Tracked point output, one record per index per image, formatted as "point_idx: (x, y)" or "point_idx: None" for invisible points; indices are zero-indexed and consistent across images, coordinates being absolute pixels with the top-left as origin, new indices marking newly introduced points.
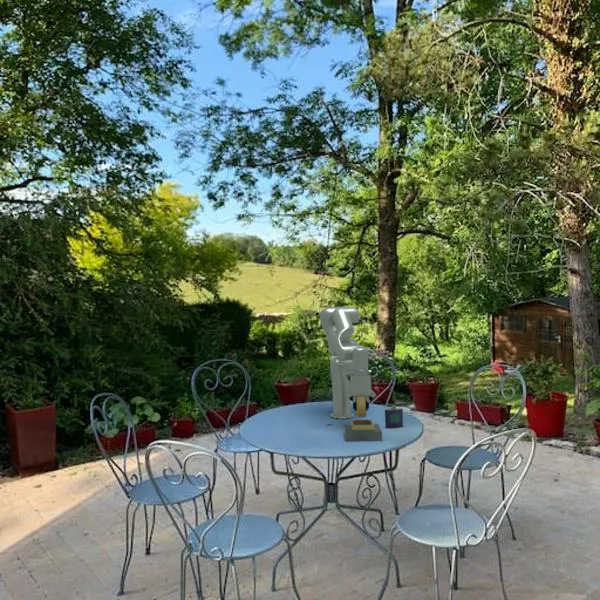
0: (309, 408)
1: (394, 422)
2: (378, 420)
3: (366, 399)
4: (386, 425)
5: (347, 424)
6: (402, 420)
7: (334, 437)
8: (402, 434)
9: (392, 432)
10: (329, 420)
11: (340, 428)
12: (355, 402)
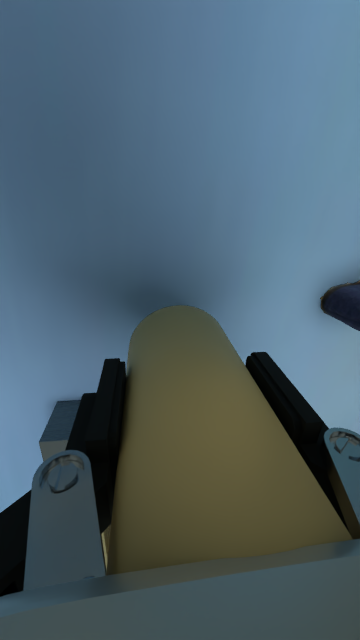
0: None
1: None
2: (354, 47)
3: (330, 476)
4: (333, 316)
5: (65, 440)
6: None
7: (12, 471)
8: (348, 421)
9: (318, 392)
10: None
11: (18, 300)
12: (112, 502)
